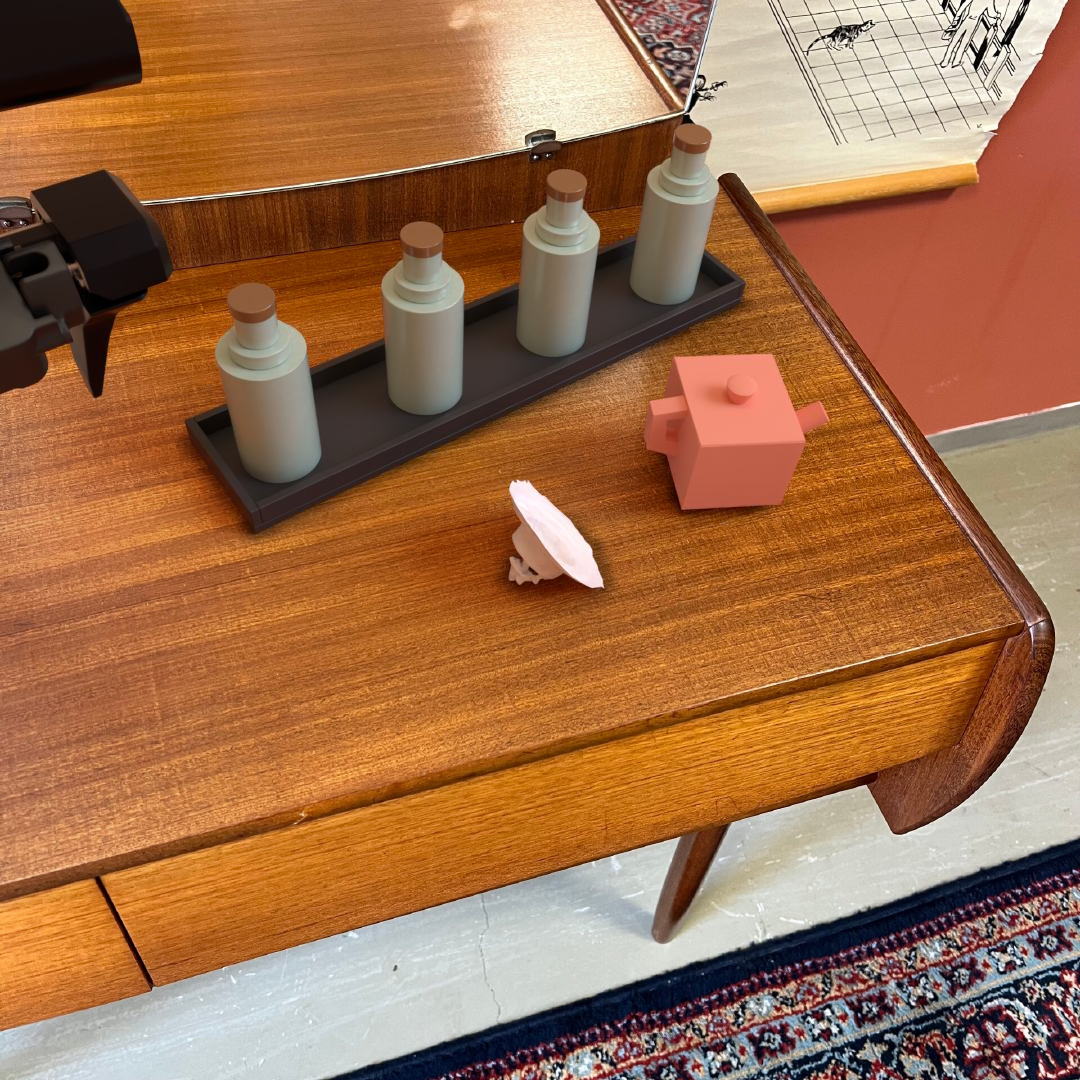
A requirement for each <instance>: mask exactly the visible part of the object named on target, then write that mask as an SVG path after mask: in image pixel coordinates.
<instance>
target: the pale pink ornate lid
mask: <svg viewBox="0 0 1080 1080" xmlns="http://www.w3.org/2000/svg"><path fill="white" fill-rule="evenodd" d="M508 488H509V489H508V490H509V491H508V492H509V494H510V496H511V504H512V509H513V511H514V513H515V514H516V516H517V518H518V519H519V520H520V522H521V523H520V525H519V526H518V527H517V528H516V530H515V531H514V532H513V533H512V535H511V538H512V540H511V541H512V544H513V545H514V547H515V550H516V552H517V553H518V554H519V556H520V557H521V558H522V560H521V559H520V558H518V557H515V556H510V557H509V561H510V568H509V569H510V570H509V572H508V581H511V582H513V581H515V582H516V584H517V585H518V586H520V585H522V584H523V583H524V582H532V583H533V584H534V585H537V584H538V583H539V582H540V580H542V579H543V580H545V581H546V580H547V581H548V580H554V579H555V578H558V577H559V576H561V575H562V574H565V575H566V576H568V577H569V578H571V579H573V580H574V581H576V582H578V583H581V584H582V585H585V586H586V587H589V588H592V589H594V588H603V589H605V587H604V579H603V577H602V575H601V573H600V570H599V567H598V564H597V562H596V560H595V559H594V557H593V556H594V554H593V548H592V547H591V545H590V544H589V543H588V542H587V541H586V540H585V538H584V537H583V535H582V534H581V533H580V532H579V530H578V529H577V528H576V526H575V525H574V523H573V522H572V520H571V519H570V518H569V517H568V516H566V515H565V514H564V513H563V512H562V511H561V510H560V509H558V507H556V506H555V505H554V503H552V502H551V500H549V498H547V497H546V496H545V495H542V494H541V493H540V492H539V491H538V490H537V489H536V488H535V487H534V486H533V484H532V483H531V482H530V481H529V480H527V481H526V479H525V480H519V479H516V482H515V481H514V480H512V481H511V483H510V485H509V487H508ZM521 561H522V562H521ZM530 568H531V569H532V570H534V571H535V573H537V575H536V574H533V571H531V570H530Z"/></svg>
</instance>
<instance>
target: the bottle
mask: <svg viewBox="0 0 1080 1080" xmlns="http://www.w3.org/2000/svg"><path fill="white" fill-rule="evenodd" d="M226 302H227V307H228V312H229V314H230V316H231V317H232V322H233V325H232V326H231V327H230V328H229V330H227V331H226V332H224V334H223V335H222V336H221V337H220V338H219V340H218V341H217V342H216V346H215V349H214V356H215V357H214V358H215V362H216V366H217V370H218V373H219V379H220V383H221V387H222V391H223V395H224V399H225V403H227V407H228V412H229V416H230V420H231V424H232V428H233V432H234V436H235V441H236V445H237V449H238V453H239V457H240V461H241V464H242V466H243V468H244V469H245V471H246V472H247V473H248V474H250V475H251V476H252V477H254V478H256V479H258V480H260V481H263V482H268V483H287V482H291V481H295V480H298V479H300V478H302V477H304V476H306V475H307V474H308V473H310V472H311V471H312V470H313V469H314V468H315V467H316V465H317V464H318V462H319V460H320V457H321V443H320V436H319V429H318V422H317V415H316V408H315V401H314V394H313V387H312V380H311V374H310V368H311V367H310V361H309V354H308V347H307V342H306V339H305V337H304V336H303V335H302V333H301V332H300V331H299V330H298V329H296V328H295V327H294V326H292V325H290V324H288V323H285V322H283V321H281V320H279V319H278V315H277V310H278V309H277V308H278V305H277V298H276V294H275V292H274V290H273V289H272V288H271V287H270V286H268V285H266V284H263V283H260V282H247V283H242V284H239V285H237V286H235V287H234V288H232V289H231V290H230V291H229V293H228V294H227V297H226Z"/></svg>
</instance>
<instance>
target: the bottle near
mask: <svg viewBox="0 0 1080 1080" xmlns="http://www.w3.org/2000/svg"><path fill="white" fill-rule="evenodd" d="M444 237H445V235H444V232H443V229H442V228H441V227H439V226H438V225H436V224H435V223H432V222H429V221H413V222H410V223H407V224H406V225H404V226H403V227H402V228H401V230H400V232H399V247H400V249H401V251H402V252H401V253H402V254H401V255H402V256H401V257H402V259H401V260H400V261H399V262H397V263H396V264H395V265H394V266H393V267H392V268H390V269H389V270H388V271H387V272H386V273H385V274H384V276H383V278H382V280H381V283H380V290H381V291H380V292H381V309H382V323H383V325H382V326H383V336H384V337H383V338H384V341H385V357H386V372H387V388H388V394H389V397H390V399H391V400H392V402H393V403H394V404H395V405H396V406H397V407H399V408H400V409H402V410H404V411H406V412H408V413H411V414H415V415H435V414H439V413H443V412H445V411H447V410H449V409H451V408H452V407H453V406H454V405H455V404H456V403H457V402H458V401H459V399H460V398H461V395H462V391H463V341H464V305H465V283H464V280H463V278H462V276H461V275H460V274H459V272H457V270H455V269H454V268H452V267H451V266H450V265H449V264H448V263H447V262H446V261H445V260H444V259H443V249H444V244H445V243H444V242H445V241H444Z"/></svg>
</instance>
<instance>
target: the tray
mask: <svg viewBox="0 0 1080 1080" xmlns="http://www.w3.org/2000/svg"><path fill="white" fill-rule="evenodd" d="M636 238H637V233H634V234H631V235H629V236H627V237H625V238H622V239H620V240H617V241H615V242H613V243H610V244H607V245H606V246H603V247H601V248H598V254H597V261H596V268H595V275H594V282H593V289H592V296H591V303H590V310H589V317H588V324H587V331H586V337H585V341H584V343H583V345H582V346H581V347H580V348H579V349H578V350H577V351H575V352H574V353H572V354H569V355H566V356H561V357H546V356H541V355H538V354H535V353H533V352H531V351H529V350H527V349H526V348H525V347H523V345H522V344H521V343H520V342H519V340H518V338H517V336H516V321H517V307H518V293H519V281H518V282H516V283H513V284H511V285H508V286H506V287H504V288H501V289H499V290H496V291H494V292H491V293H489V294H487V295H485V296H481V297H480V298H477V299H474V300H472V301H469V302H468V303H464V341H463V391H462V395H461V398H460V399H459V401H458V402H457V403H456V404H455V405H454V406H453V407H452V408H451V409H449V410H447V411H445V412H443V413H439V414H435V415H415V414H411V413H408V412H406V411H404V410H402V409H400V408H399V407H397V406H396V405H395V404H394V403H393V402H392V400H391V399H390V397H389V394H388V388H387V372H386V357H385V341H384V337H382V338H380V339H377V340H375V341H373V342H370V343H368V344H365V345H363V346H361V347H358V348H356V349H354V350H351V351H349V352H346V353H343V354H341V355H339V356H337V357H334V358H332V359H329V360H327V361H325V362H322V363H320V364H317V365H315V366H313V367H310V374H311V380H312V387H313V394H314V401H315V408H316V415H317V422H318V429H319V436H320V443H321V457H320V460H319V462H318V464H317V465H316V467H315V468H314V469H313V470H312V471H311V472H310V473H308V474H307V475H306V476H304V477H302V478H300V479H298V480H295V481H291V482H287V483H268V482H263V481H260V480H258V479H256V478H254V477H252V476H251V475H250V474H248V473H247V472H246V471H245V469H244V468H243V466H242V464H241V461H240V457H239V453H238V449H237V445H236V441H235V436H234V432H233V428H232V424H231V420H230V416H229V412H228V407H227V403H226V402H225V403H223V404H220V405H217V406H215V407H213V408H210V409H209V410H206V411H204V412H201V413H199V414H196V415H193V416H191V417H189V418H187V419H184V425H185V428H186V431H187V435H188V438H189V442H190V444H191V445H192V446H193V448H194V449H195V451H196V452H197V454H198V455H199V456H200V458H201V459H202V461H203V462H204V463H205V465H206V466H207V468H208V469H209V471H210V472H211V473H212V475H213V476H214V478H215V479H216V480H217V482H218V483H219V485H220V486H221V488H222V489H223V490H224V492H225V494H226V495H227V496H228V497H229V499H230V500H231V502H232V503H233V504H234V506H235V507H236V508H237V510H238V511H239V513H240V515H241V516H242V517H243V519H244V520H245V522H246V523H247V524H248V526H249V527H250V528H251V530H252V532H253V533H254V534H258V533H260V532H263V531H265V530H266V529H269V528H271V527H273V526H275V525H277V524H279V523H281V522H284V521H285V520H287V519H289V518H292V517H294V516H296V515H298V514H300V513H302V512H304V511H306V510H309V509H311V508H312V507H316V505H319V504H321V503H323V502H325V501H327V500H329V499H331V498H334V497H336V496H338V495H340V494H342V493H345V492H347V491H348V490H350V489H353V488H355V487H357V486H359V485H361V484H363V483H366V482H367V481H369V480H371V479H373V478H376V477H378V476H380V475H382V474H384V473H386V472H388V471H391V470H393V469H395V468H397V467H399V466H401V465H403V464H406V463H407V462H409V461H412V460H413V459H416V458H418V457H419V456H422V455H424V454H427V453H429V452H430V451H433V450H434V449H436V448H438V447H441V446H443V445H445V444H448V443H449V442H452V441H454V440H455V439H458V438H460V437H462V436H464V435H466V434H468V433H470V432H473V431H474V430H476V429H479V428H480V427H483V426H485V425H487V424H489V423H491V422H493V421H496V420H497V419H500V418H502V417H504V416H506V415H508V414H510V413H512V412H514V411H516V410H518V409H520V408H523V407H525V406H527V405H529V404H531V403H534V402H535V401H537V400H539V399H542V398H544V397H546V396H548V395H550V394H552V393H554V392H556V391H558V390H561V389H563V388H564V387H567V386H569V385H571V384H574V383H575V382H578V381H579V380H582V379H583V378H586V377H587V376H590V375H592V374H594V373H596V372H598V371H600V370H602V369H605V368H607V367H609V366H611V365H614V364H615V363H618V362H619V361H621V360H624V359H626V358H628V357H630V356H632V355H634V354H636V353H638V352H640V351H642V350H644V349H647V348H648V347H651V346H653V345H655V344H657V343H659V342H661V341H663V340H666V339H668V338H670V337H672V336H674V335H676V334H679V333H681V332H683V331H684V330H687V329H689V328H691V327H693V326H695V325H697V324H699V323H701V322H704V321H705V320H708V319H710V318H712V317H714V316H716V315H719V314H720V313H723V312H724V311H726V310H729V309H730V308H733V307H735V306H737V305H739V304H741V301H742V298H743V295H744V291H745V288H746V284H747V281H746V280H745V279H744V278H742V277H741V276H740V275H739V274H738V273H736V272H735V271H734V270H732V269H731V268H730V267H729V266H727V265H726V264H725V263H724V262H722V261H721V260H720V259H719V258H717V257H716V256H714V255H713V254H712V253H711V252H710V251H709V250H708V249H706V248H705V249H704V253H703V258H702V262H701V266H700V270H699V274H698V278H697V282H696V286H695V290H694V293H693V295H692V296H691V297H690V298H689V299H688V300H686V301H684V302H682V303H679V304H674V305H660V304H655V303H652V302H649V301H646V300H644V299H643V298H641V297H640V296H638V295H637V294H636V293H635V292H634V291H633V289H632V288H631V286H630V282H629V278H630V272H631V267H632V261H633V255H634V250H635V244H636Z"/></svg>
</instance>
